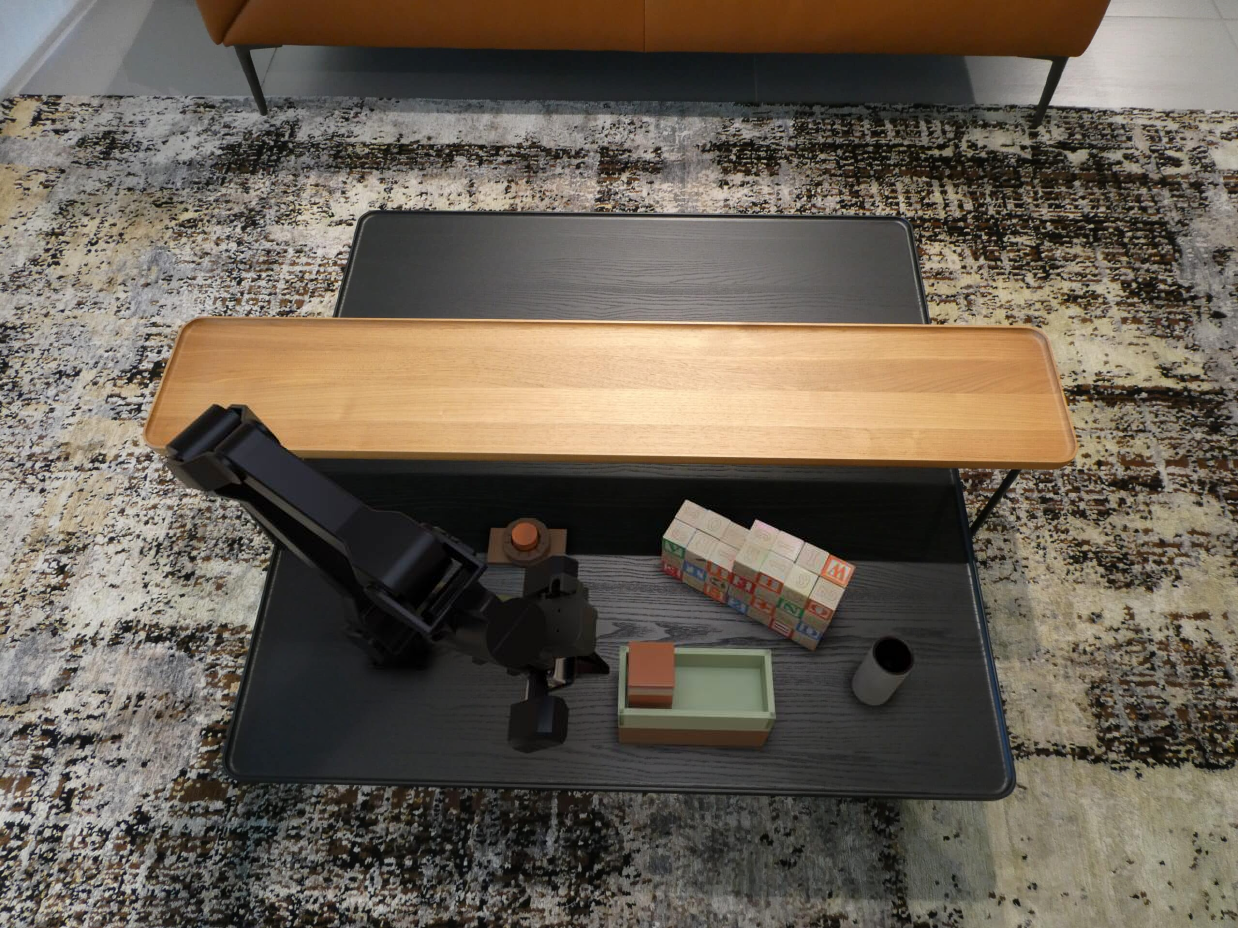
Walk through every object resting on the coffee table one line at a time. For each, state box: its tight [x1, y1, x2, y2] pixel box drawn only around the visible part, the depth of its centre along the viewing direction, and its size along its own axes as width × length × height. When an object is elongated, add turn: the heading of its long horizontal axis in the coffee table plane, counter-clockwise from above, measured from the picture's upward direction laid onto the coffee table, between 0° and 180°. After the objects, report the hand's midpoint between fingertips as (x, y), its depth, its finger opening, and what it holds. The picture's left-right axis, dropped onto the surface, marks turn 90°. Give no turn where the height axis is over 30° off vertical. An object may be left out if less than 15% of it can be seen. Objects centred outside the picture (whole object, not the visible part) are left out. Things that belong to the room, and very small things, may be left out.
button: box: [512, 523, 538, 551], centre depth 107 cm, size 3×3×2 cm
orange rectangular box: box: [628, 641, 675, 709], centre depth 88 cm, size 5×5×9 cm
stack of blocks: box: [660, 499, 856, 652], centre depth 100 cm, size 21×6×12 cm, turn 59°
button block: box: [486, 517, 568, 567], centre depth 108 cm, size 10×6×2 cm, turn 88°
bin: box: [617, 645, 777, 747], centre depth 93 cm, size 16×7×11 cm, turn 88°
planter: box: [851, 634, 916, 707], centre depth 94 cm, size 4×4×10 cm
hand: (607, 671), depth 87 cm, fingers closed
